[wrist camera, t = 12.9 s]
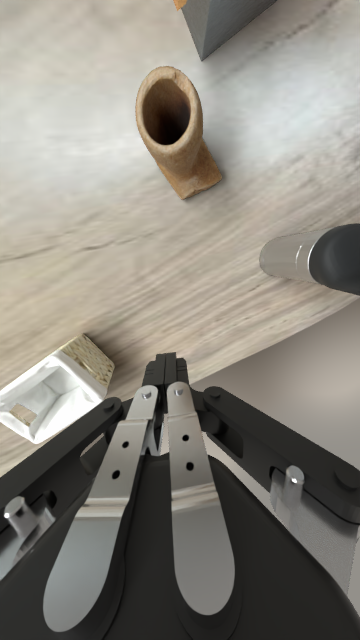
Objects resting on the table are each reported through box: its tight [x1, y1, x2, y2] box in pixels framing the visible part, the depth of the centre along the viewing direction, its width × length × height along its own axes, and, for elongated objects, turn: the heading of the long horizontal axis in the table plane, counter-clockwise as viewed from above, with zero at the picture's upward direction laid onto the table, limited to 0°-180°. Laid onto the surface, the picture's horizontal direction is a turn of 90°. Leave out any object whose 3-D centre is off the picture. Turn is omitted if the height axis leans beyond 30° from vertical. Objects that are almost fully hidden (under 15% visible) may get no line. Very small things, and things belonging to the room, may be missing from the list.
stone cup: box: [136, 66, 222, 200], centre depth 31 cm, size 15×12×15 cm
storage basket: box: [0, 334, 115, 444], centre depth 47 cm, size 24×16×15 cm
